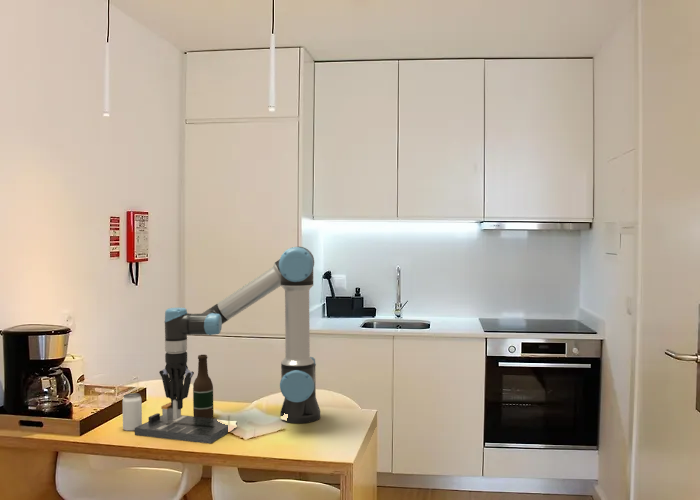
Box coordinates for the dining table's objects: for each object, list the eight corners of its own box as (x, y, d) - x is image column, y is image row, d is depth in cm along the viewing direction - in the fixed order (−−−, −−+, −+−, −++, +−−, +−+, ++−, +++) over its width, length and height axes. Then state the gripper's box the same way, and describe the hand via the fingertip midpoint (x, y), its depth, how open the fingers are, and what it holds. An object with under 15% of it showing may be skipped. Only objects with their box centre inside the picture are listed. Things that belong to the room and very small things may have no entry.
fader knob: (176, 419, 225) (175, 402, 224) (167, 423, 220) (167, 406, 220) (170, 418, 225) (170, 402, 225) (161, 422, 220) (161, 406, 220)
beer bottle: (216, 415, 239) (215, 353, 239) (210, 421, 231) (209, 357, 231) (197, 415, 240) (196, 353, 239) (189, 421, 232) (188, 357, 232)
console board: (237, 427, 224) (236, 415, 224) (210, 443, 207) (210, 430, 207) (165, 420, 234) (165, 408, 234) (134, 435, 217) (134, 422, 216)
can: (135, 431, 220) (135, 398, 220) (119, 430, 222) (118, 397, 221) (145, 426, 227) (144, 393, 226) (129, 425, 228) (128, 392, 228)
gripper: (198, 350, 222) (198, 416, 223) (166, 348, 226) (167, 413, 227) (186, 354, 215) (186, 422, 216) (154, 352, 219) (155, 419, 220)
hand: (177, 417), depth 221 cm, fingers closed
